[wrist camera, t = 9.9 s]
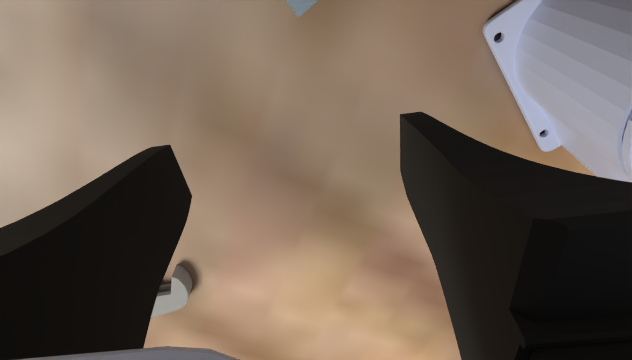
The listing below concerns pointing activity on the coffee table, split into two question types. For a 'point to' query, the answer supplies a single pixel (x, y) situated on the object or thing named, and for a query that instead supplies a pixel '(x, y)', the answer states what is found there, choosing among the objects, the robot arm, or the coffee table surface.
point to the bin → (300, 5)
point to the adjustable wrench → (173, 293)
